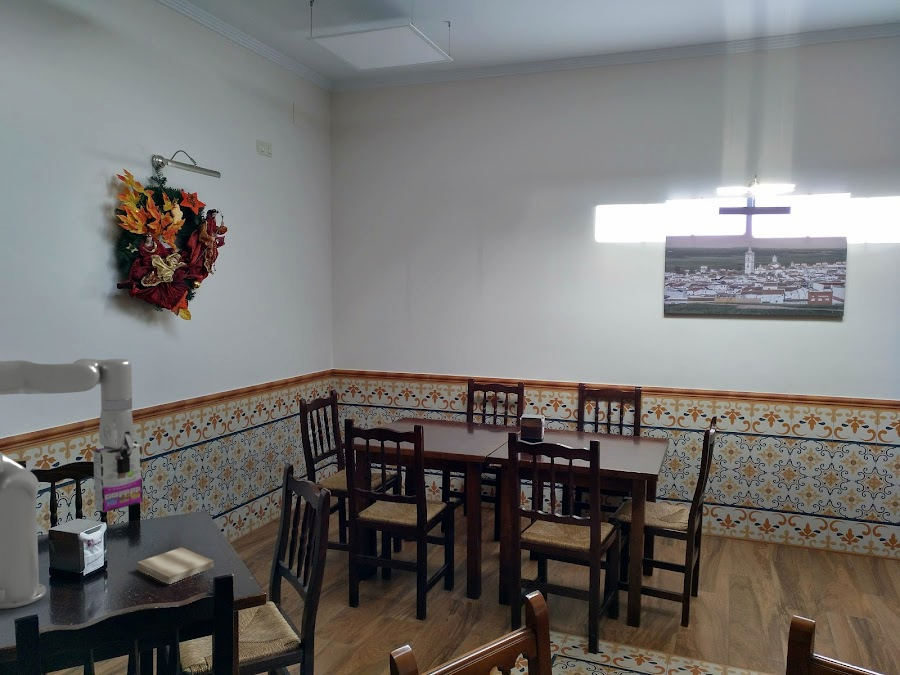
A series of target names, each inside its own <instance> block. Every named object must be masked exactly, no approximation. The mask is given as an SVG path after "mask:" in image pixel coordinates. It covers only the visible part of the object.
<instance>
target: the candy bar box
mask: <svg viewBox="0 0 900 675" xmlns="http://www.w3.org/2000/svg"><path fill="white" fill-rule="evenodd" d="M133 446H134V450H133V451H132V453H131V457H130V471H129V472H126V473H122V474H118V473H117V459H119V456H118V450H117V449H113V448H109V447H107V448H104V447H103V448H98V449H97V448H96V449H93V451H92V454H93V477H94V478H93V480H94V481H93V482H94V483H93V484H94V501H95V502H94V505H95V509H96V510H98V511H99V512H102V513H107V512H111V511H115V510H118V509H119V510H120V509H122V508H123V509H124V508H126V507H130V506H134V505H137V504H141V503H143V502H144V497H143V495H144V493H143V467H142V466H143V465H142V463H143V462H142V461H143V460H142V445H141V444H139V443H137V442H134V443H133ZM122 447H125V445H122ZM124 450H126V449H122V453H123V451H124Z"/></svg>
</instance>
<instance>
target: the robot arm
mask: <svg viewBox="0 0 900 675" xmlns="http://www.w3.org/2000/svg"><path fill="white" fill-rule="evenodd" d="M132 370H133V369H132V362H131V361H130V360H128V359H126V358H109V359H95V358H94V359H93V358H80V359H77V360H75V361H74V362H72V363H56V364H54V363H52V364H51V363H49V364H48V363H47V364H46V363H36V362H32V361H29V360H19V359H18V360H16V359H15V360H3V361H2V360H0V396H1V395H2V396H3V395H21V394H22V395H23V394H24V395H36V394H38V395H40V394H44V395H45V394H46V395H48V394H68V393H69V394H70V393H83V392H87V391H90V390H92V389H93V388H94V389H95V387H96V386H97V385H100V403H101V404H100V405H101V406H100V407H101V410H100V416H99V430H98V432H99V433H98V441H99V444H100V445H101V446H103V448H107V447H109V448H113V449H117V450H118V456H119V459H117V473H118V474H122V473H126V472H129V471H130V457H131V453H132V451H133V450H134V446H133V443H135V442H134V441H135V435H134V434H135V433H134V421H133V420H134V419H133V413H132V410H133V388H132V387H133V385H132V383H133V381H132V379H133V378H132V377H133V376H132ZM122 445H125V447H122ZM122 449H126V450H124V451H123V453H122ZM39 489H40V485H39V480H38V478H37V476H36V475H35V474H34V473H33V472H32V471H31V470H29V469H28V468H26V467H24V465H21V464H19V462H17V461H15V460H13V459H12V458H10V457H9V456H8V455H6V454H5V453H2V452H1V451H0V610H2V609H5V610H6V609H13V608H21V607H24V606H27V605H30V604H33V603H35V602H37V601H39V600H40V599H41V598H43V597H44V596H45V595H46V593H47V588H46V586H45V585H44V584H42V583H40V582H39V581H40V580H39V577H40V576H39V574H40V572H39V548H38V547H39V545H38V544H39V543H38V541H39V540H38V522H37V497H38V492H39Z"/></svg>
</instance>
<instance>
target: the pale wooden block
mask: <svg viewBox="0 0 900 675" xmlns="http://www.w3.org/2000/svg"><path fill="white" fill-rule="evenodd" d="M214 562H215V561H214V560H213V559H210V558H208V557H205V555H204V556H203V555H201V554H198V553H197V552H194V551H192V550H190V549H187V548H184V547H182V546H181V547H178V548H176V549H172V550H169V551H167V552H163V553H160V554H158V555H154V556H152V557H149V558H146V559H143V560H139V561H137V571H138V570H139V571H138V572H140V571H141V572H140V573H142V572H143V573H142V574H144V573H145V574H144V575H146V574H147V575H146V576H148V575H150V576H152V577H154V578H156V579H158V580H160V581H162V582H165V583H167V584H172V583H174V582H177V581H179V580H182V579H184V578H187V577H189V576H192V575H194V574H197V573H200V572H202V571H205V570H208V569H211V568H213V567H214V566H215V564H214ZM214 568H215V567H214ZM150 576H149V577H150ZM152 577H151V578H152ZM154 578H153V579H154ZM156 579H155V580H156ZM158 580H157V581H158ZM160 581H159V582H160ZM162 582H161V583H162Z"/></svg>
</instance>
